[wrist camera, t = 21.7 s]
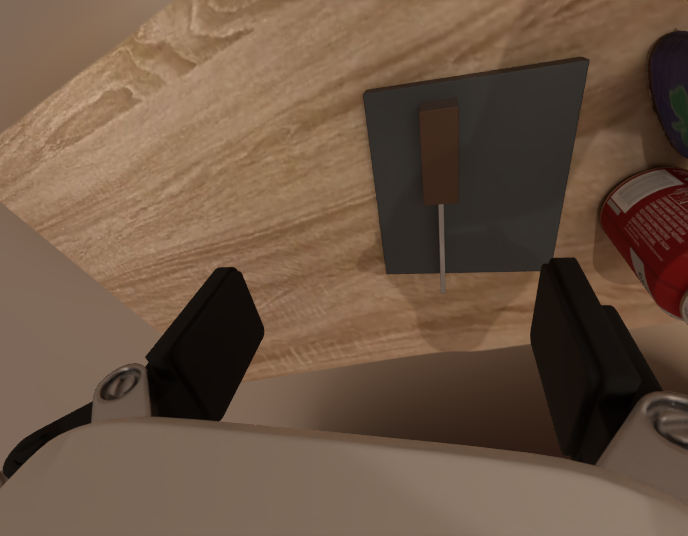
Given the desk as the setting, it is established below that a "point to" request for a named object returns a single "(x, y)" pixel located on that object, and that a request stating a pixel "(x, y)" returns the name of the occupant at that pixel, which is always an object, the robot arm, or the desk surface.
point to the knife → (440, 160)
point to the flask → (670, 86)
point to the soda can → (653, 233)
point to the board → (478, 168)
